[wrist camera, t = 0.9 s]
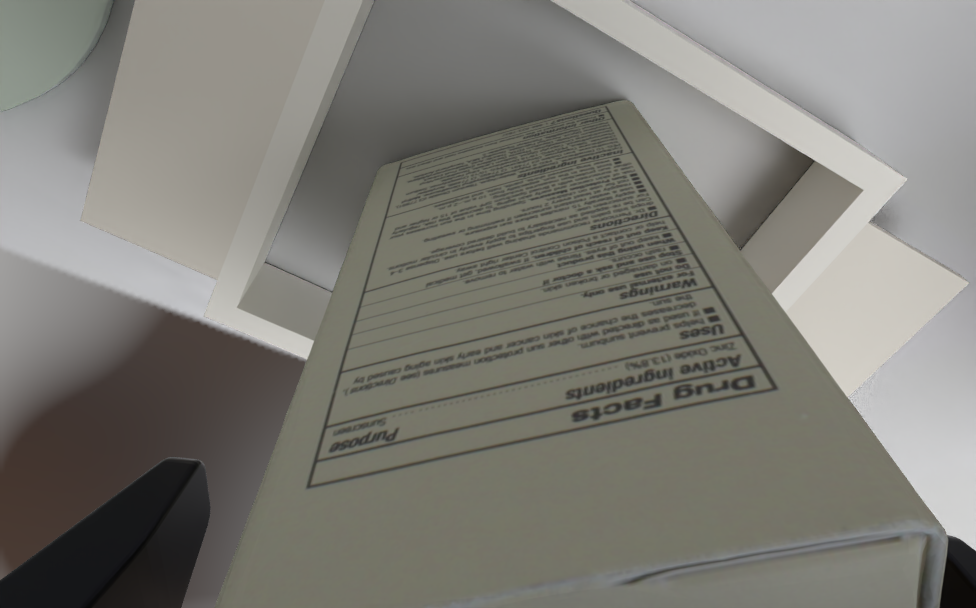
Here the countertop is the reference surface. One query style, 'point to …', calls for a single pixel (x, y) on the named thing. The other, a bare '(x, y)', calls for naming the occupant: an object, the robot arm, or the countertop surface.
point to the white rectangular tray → (302, 110)
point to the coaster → (45, 44)
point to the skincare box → (570, 406)
